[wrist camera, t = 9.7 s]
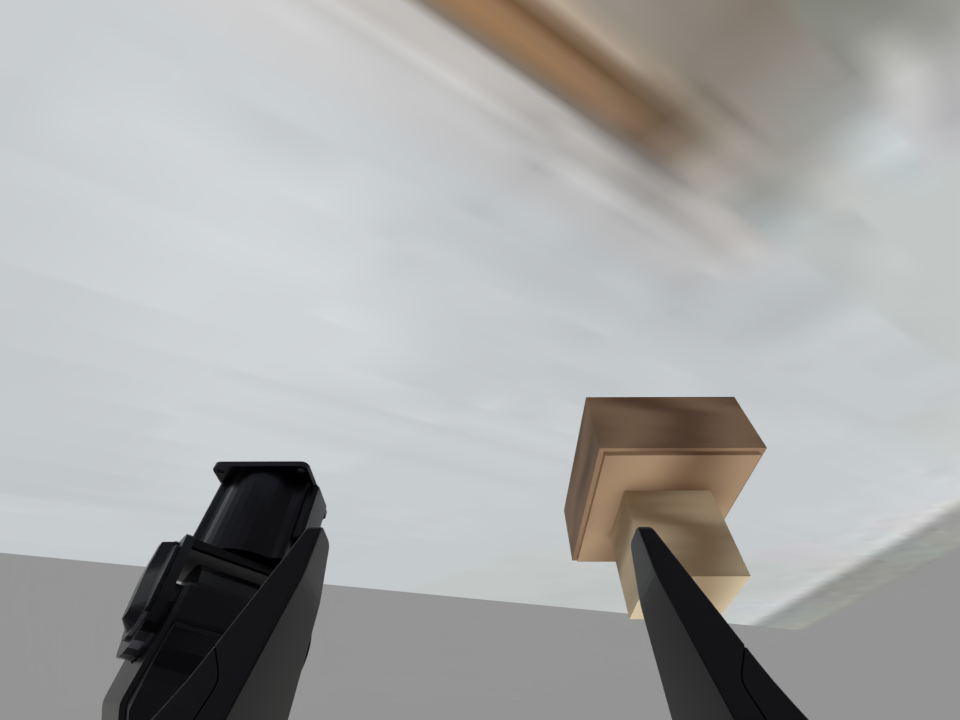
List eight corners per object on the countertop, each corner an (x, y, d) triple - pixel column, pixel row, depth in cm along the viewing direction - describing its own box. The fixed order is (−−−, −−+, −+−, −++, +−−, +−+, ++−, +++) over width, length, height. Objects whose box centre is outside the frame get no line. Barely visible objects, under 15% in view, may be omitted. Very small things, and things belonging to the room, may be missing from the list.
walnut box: (563, 510, 35) (572, 563, 32) (586, 397, 27) (600, 452, 24) (680, 509, 35) (701, 563, 32) (734, 396, 27) (769, 451, 24)
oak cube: (609, 536, 29) (629, 619, 25) (624, 490, 26) (649, 576, 22) (686, 536, 29) (718, 618, 25) (710, 490, 26) (750, 576, 22)
